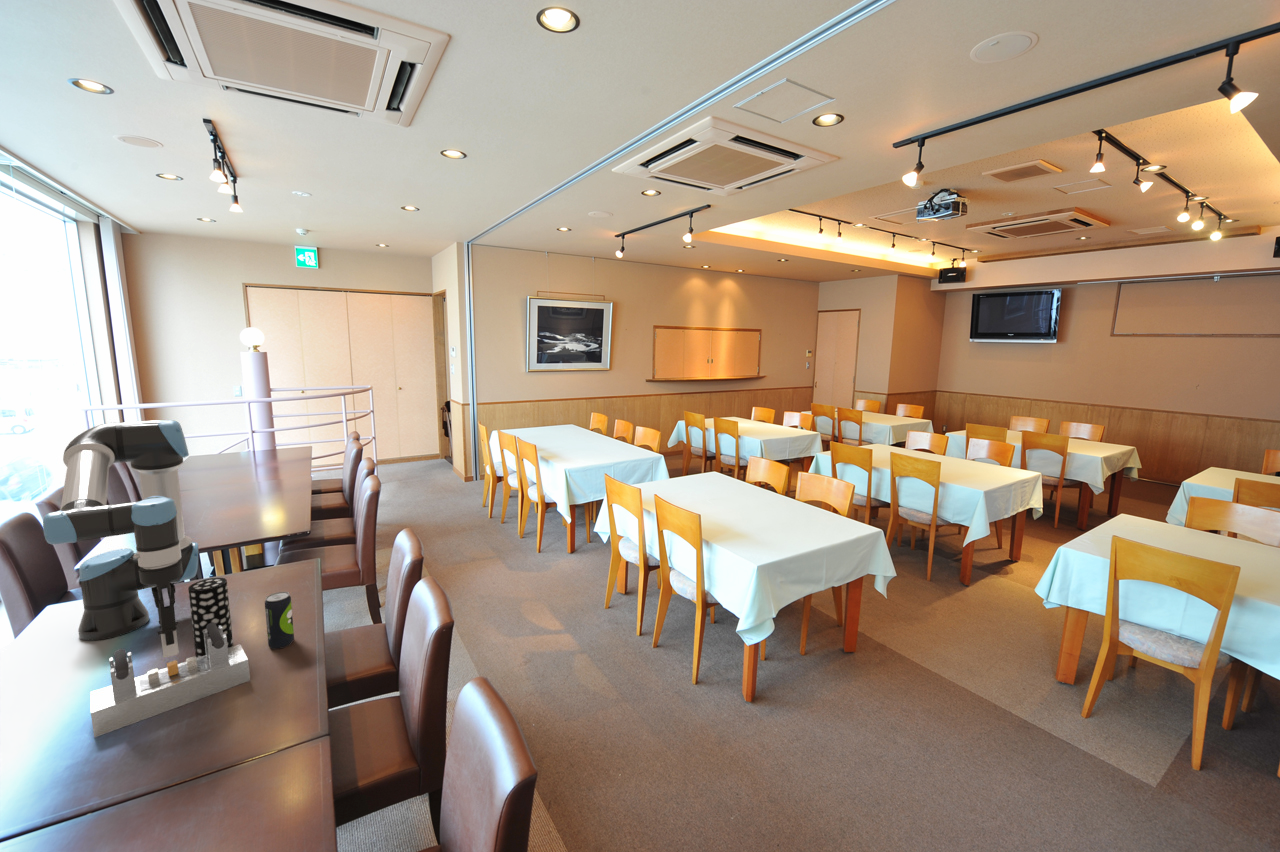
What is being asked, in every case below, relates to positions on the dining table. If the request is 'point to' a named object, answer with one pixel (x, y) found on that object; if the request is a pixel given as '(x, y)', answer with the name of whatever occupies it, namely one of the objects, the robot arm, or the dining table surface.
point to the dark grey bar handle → (121, 664)
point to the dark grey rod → (215, 635)
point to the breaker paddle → (172, 668)
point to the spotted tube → (209, 610)
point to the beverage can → (279, 620)
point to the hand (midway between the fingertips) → (171, 654)
